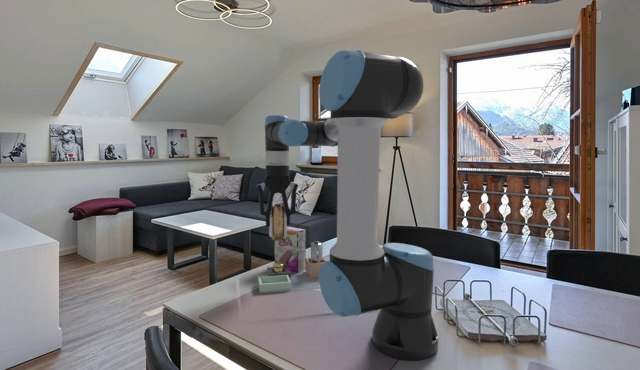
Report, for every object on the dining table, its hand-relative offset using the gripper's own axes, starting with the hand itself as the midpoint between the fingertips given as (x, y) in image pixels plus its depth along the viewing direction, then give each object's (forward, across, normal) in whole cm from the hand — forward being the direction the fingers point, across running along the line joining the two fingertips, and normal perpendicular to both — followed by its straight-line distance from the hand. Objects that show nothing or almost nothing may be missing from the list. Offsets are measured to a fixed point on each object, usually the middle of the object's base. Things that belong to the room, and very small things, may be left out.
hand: (277, 235), depth 123 cm
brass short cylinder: (+15, 0, -1) cm, 15 cm away
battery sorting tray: (+16, -5, +1) cm, 17 cm away
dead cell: (+15, -14, -3) cm, 21 cm away
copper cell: (+1, 0, 0) cm, 1 cm away
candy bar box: (+17, -6, -11) cm, 21 cm away
